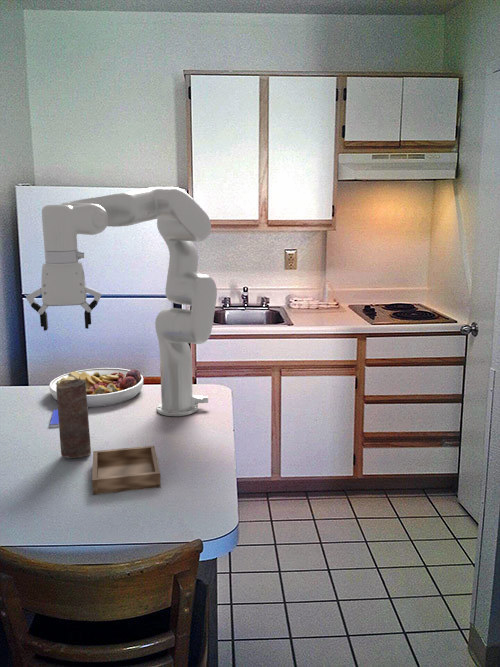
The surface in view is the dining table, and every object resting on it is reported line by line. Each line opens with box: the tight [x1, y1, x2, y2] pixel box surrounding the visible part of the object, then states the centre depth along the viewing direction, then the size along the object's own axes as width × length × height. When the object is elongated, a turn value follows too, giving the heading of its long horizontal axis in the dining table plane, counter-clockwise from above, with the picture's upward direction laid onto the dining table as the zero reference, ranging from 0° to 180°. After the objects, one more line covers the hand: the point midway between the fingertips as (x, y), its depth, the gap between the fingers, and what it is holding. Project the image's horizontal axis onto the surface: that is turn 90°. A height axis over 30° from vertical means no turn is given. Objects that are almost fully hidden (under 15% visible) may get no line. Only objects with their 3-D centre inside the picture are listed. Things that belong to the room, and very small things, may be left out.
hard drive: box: [49, 408, 59, 429], centre depth 185 cm, size 2×8×12 cm
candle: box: [56, 379, 92, 459], centre depth 157 cm, size 8×7×20 cm
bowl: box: [49, 367, 144, 408], centre depth 206 cm, size 30×30×8 cm
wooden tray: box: [91, 445, 161, 495], centre depth 148 cm, size 15×16×4 cm
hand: (66, 328), depth 152 cm, fingers open, 9 cm apart
